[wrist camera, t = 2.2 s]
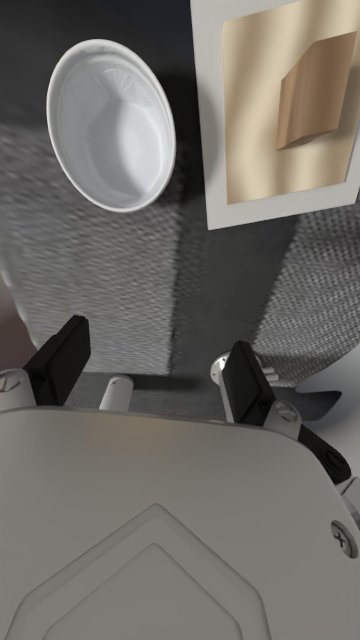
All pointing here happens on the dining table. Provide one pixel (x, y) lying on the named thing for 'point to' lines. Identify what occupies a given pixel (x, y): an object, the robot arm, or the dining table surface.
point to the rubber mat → (207, 21)
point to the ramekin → (111, 125)
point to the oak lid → (290, 97)
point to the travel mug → (118, 393)
